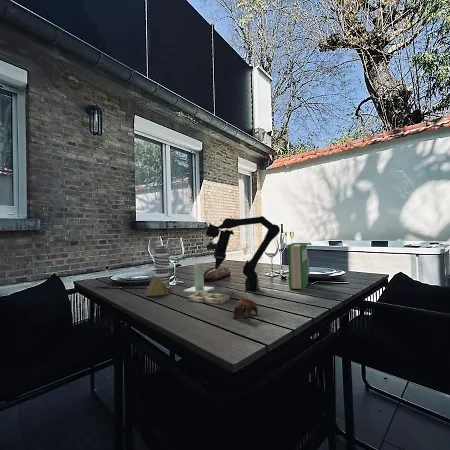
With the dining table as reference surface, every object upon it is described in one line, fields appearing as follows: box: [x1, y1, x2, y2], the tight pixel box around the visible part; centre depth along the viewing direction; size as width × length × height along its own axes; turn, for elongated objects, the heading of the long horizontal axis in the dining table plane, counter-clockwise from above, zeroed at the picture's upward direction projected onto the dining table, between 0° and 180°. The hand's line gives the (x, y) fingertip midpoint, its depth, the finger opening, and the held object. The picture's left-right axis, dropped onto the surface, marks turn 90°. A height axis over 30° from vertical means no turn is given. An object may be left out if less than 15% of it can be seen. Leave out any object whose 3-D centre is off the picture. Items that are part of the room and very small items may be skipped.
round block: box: [193, 262, 205, 290], centre depth 158 cm, size 5×5×14 cm
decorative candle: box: [153, 244, 171, 289], centre depth 171 cm, size 9×9×25 cm
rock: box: [145, 275, 169, 297], centre depth 153 cm, size 11×9×10 cm
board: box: [183, 285, 215, 294], centre depth 158 cm, size 12×12×2 cm
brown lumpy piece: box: [232, 297, 258, 321], centre depth 111 cm, size 12×10×8 cm
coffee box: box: [307, 252, 310, 274], centre depth 185 cm, size 9×6×16 cm
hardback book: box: [287, 242, 309, 291], centre depth 162 cm, size 18×7×24 cm, turn 157°
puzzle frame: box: [187, 292, 231, 305], centre depth 137 cm, size 17×9×2 cm, turn 64°
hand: (216, 267), depth 160 cm, fingers open, 9 cm apart
